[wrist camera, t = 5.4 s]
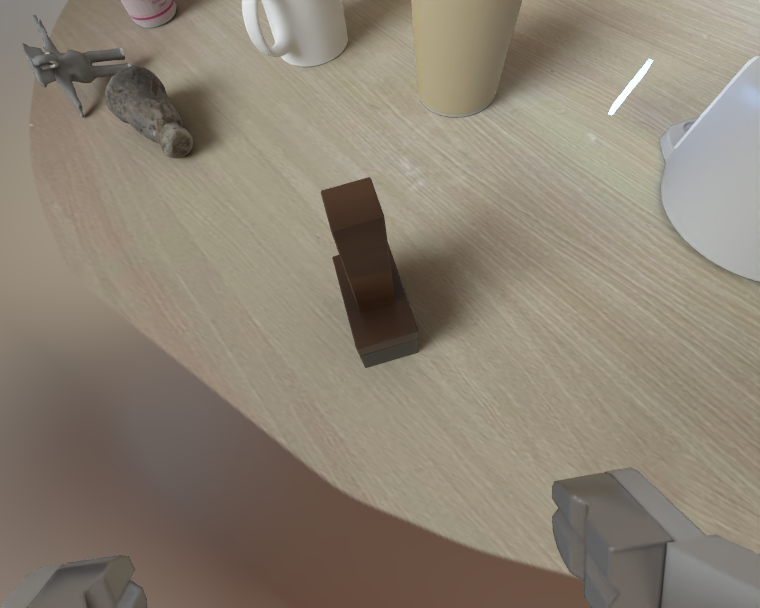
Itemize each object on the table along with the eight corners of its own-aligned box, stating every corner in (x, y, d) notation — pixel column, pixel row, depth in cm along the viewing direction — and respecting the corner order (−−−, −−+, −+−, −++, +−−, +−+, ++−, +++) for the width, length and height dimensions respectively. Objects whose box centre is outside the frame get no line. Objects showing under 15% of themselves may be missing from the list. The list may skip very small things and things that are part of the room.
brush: (343, 285, 31) (294, 159, 19) (391, 272, 31) (374, 137, 19) (365, 368, 28) (324, 281, 16) (418, 352, 28) (418, 254, 16)
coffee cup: (503, 58, 40) (534, -98, 29) (506, 123, 37) (543, -28, 26) (412, 60, 41) (410, -89, 31) (407, 124, 38) (402, -20, 27)
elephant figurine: (150, 97, 43) (52, 110, 39) (147, 117, 48) (60, 130, 44) (106, -3, 41) (-4, -2, 36) (108, 29, 46) (12, 33, 41)
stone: (208, 161, 39) (205, 71, 37) (153, 155, 35) (146, 53, 32) (153, 156, 44) (147, 76, 42) (99, 150, 40) (89, 60, 37)
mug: (308, 97, 41) (274, -19, 31) (245, 80, 43) (196, -33, 33) (360, 28, 45) (344, -94, 35) (300, 15, 47) (270, -103, 37)
